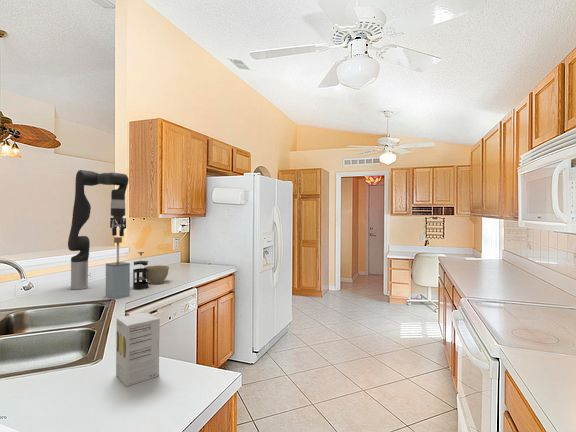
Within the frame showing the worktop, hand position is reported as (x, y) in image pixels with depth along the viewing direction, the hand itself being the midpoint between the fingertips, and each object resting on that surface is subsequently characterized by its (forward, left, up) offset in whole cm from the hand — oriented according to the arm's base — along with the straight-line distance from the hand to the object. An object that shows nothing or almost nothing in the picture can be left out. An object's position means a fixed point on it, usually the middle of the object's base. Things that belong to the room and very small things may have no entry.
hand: (117, 235), depth 187 cm
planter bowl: (-18, +35, -35) cm, 53 cm away
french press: (-11, +20, -35) cm, 42 cm away
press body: (0, 0, -35) cm, 35 cm away
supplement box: (+99, -41, -35) cm, 113 cm away
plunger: (0, 0, -25) cm, 25 cm away
